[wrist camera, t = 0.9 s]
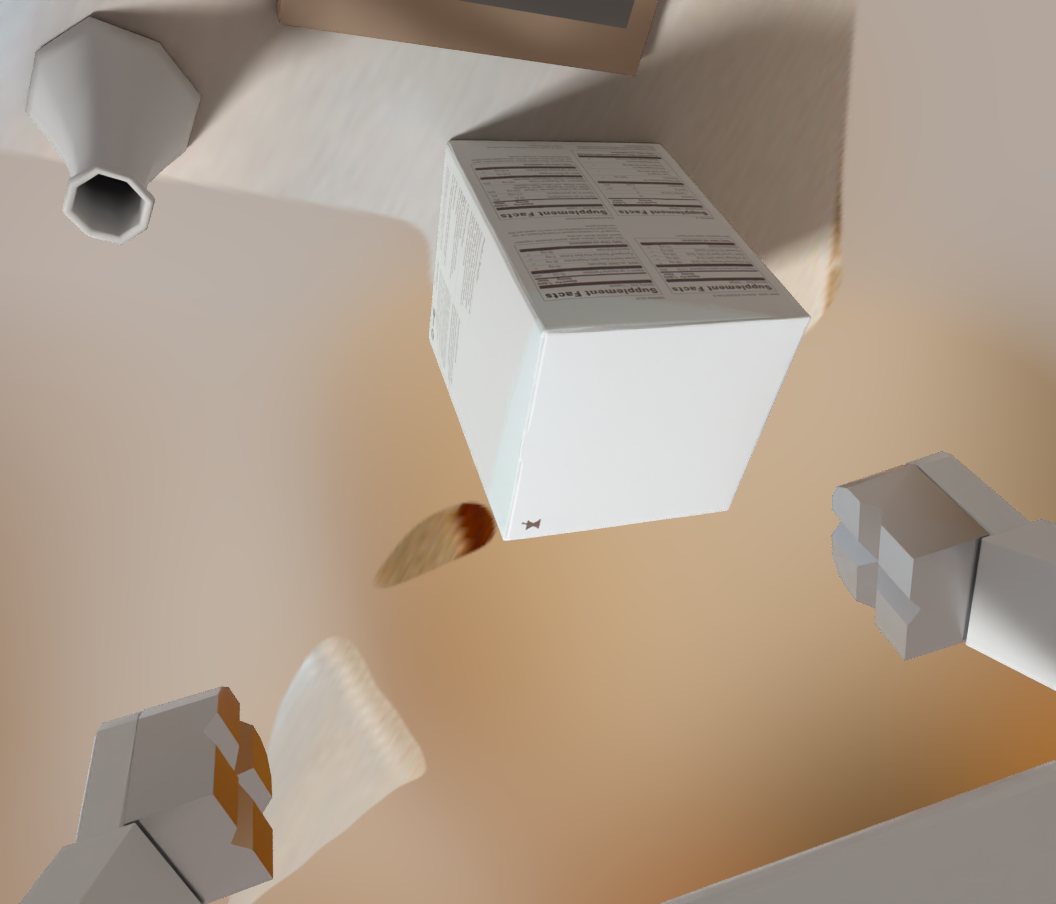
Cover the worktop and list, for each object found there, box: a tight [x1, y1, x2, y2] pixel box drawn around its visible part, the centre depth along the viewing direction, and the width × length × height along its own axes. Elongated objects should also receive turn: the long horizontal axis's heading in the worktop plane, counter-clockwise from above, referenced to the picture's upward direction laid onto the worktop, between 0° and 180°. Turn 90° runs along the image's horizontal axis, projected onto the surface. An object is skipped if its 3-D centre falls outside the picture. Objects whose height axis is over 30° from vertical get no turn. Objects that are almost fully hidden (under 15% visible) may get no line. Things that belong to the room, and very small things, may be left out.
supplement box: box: [429, 140, 811, 541], centre depth 48 cm, size 13×13×18 cm
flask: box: [25, 16, 201, 245], centre depth 38 cm, size 7×7×10 cm
